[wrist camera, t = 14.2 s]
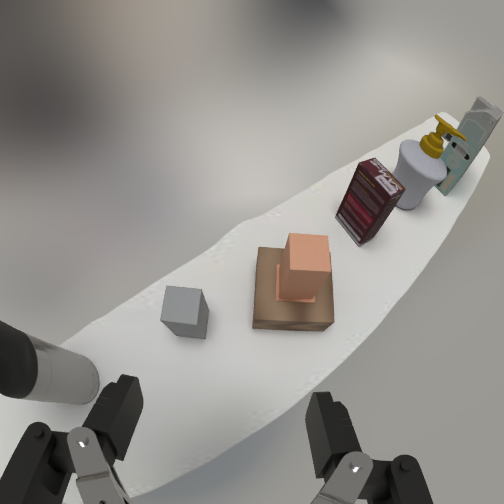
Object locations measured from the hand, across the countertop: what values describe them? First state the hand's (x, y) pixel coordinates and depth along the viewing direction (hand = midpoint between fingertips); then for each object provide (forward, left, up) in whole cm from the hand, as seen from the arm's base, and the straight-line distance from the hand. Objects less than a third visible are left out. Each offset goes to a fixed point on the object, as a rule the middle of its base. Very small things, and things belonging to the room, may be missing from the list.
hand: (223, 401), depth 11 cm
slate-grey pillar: (-8, +11, -32) cm, 35 cm away
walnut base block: (+8, +17, -32) cm, 37 cm away
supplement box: (+22, +33, -32) cm, 51 cm away
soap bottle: (+37, +44, -32) cm, 66 cm away
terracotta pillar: (+8, +17, -26) cm, 32 cm away
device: (+59, +56, -32) cm, 87 cm away
